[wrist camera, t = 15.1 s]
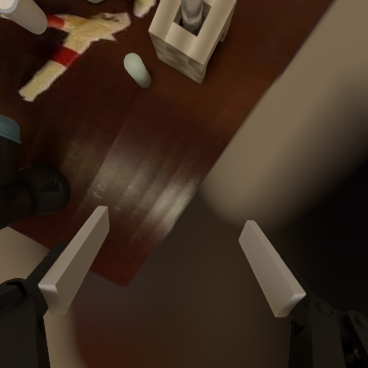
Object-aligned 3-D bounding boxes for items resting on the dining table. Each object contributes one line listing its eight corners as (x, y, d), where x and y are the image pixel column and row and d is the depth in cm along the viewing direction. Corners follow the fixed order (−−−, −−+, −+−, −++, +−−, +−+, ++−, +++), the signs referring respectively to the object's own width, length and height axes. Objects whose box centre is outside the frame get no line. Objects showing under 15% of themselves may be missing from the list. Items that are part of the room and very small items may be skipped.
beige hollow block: (158, 58, 38) (148, 30, 29) (182, 4, 35) (179, -44, 26) (200, 84, 38) (203, 65, 30) (226, 33, 36) (238, -4, 27)
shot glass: (18, 26, 37) (-20, -1, 31) (27, -4, 36) (-12, -40, 29) (44, 43, 38) (12, 20, 31) (53, 14, 37) (22, -17, 30)
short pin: (135, 83, 39) (121, 67, 31) (141, 69, 38) (128, 49, 31) (147, 91, 39) (136, 76, 32) (153, 77, 39) (144, 59, 31)
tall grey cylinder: (181, 50, 37) (174, -21, 21) (189, 34, 36) (187, -52, 21) (194, 58, 37) (196, -6, 22) (202, 42, 36) (210, -36, 21)
